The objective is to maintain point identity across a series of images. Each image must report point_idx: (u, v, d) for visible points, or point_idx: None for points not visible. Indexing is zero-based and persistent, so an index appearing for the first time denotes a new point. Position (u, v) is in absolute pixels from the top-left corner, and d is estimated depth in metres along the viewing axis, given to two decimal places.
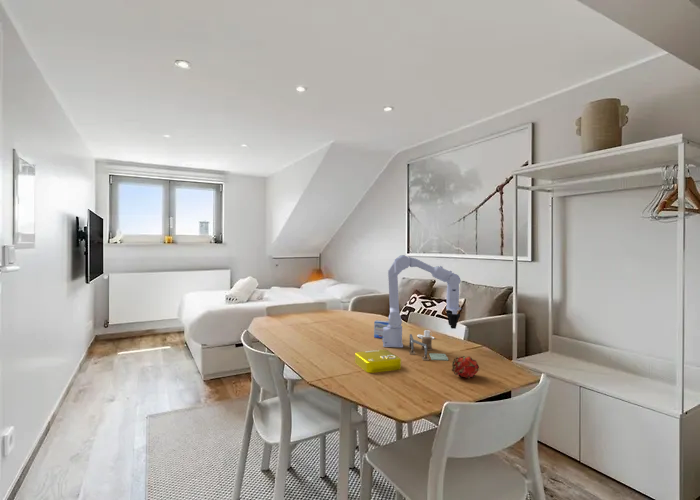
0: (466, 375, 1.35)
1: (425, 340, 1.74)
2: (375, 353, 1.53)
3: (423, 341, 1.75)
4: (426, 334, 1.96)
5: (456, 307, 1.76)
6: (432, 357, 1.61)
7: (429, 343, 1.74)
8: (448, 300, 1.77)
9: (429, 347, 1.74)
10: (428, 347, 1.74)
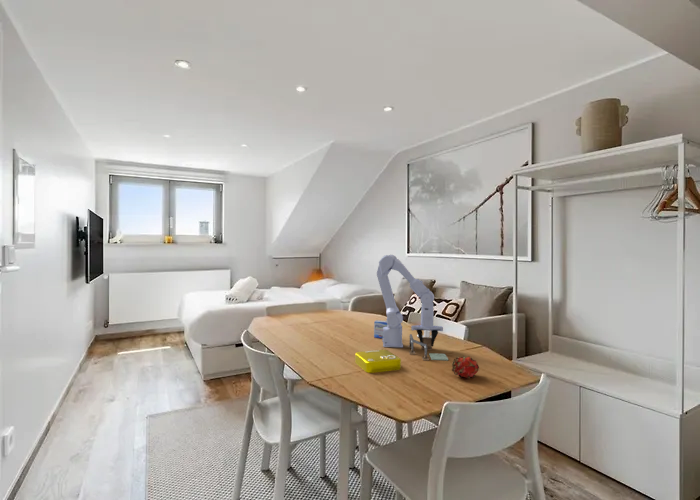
0: (466, 375, 1.35)
1: (425, 340, 1.74)
2: (375, 353, 1.53)
3: (423, 341, 1.75)
4: (426, 334, 1.96)
5: (422, 325, 1.74)
6: (432, 357, 1.61)
7: (429, 343, 1.74)
8: None
9: (429, 347, 1.74)
10: (428, 347, 1.74)
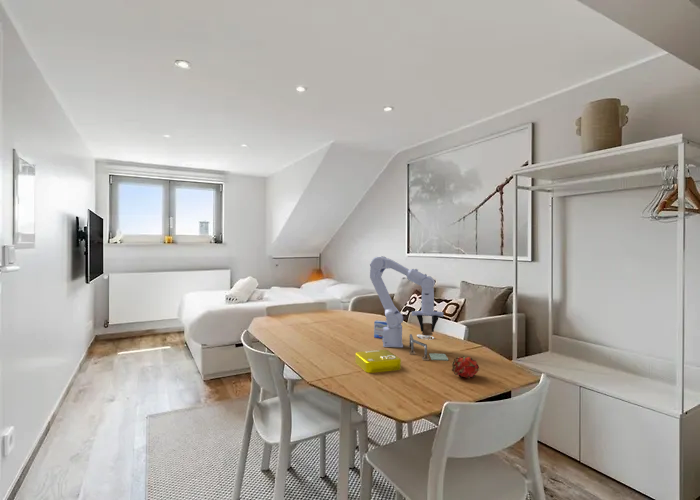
0: (466, 375, 1.35)
1: (425, 325, 1.73)
2: (375, 353, 1.53)
3: (423, 326, 1.74)
4: None
5: (422, 311, 1.74)
6: (432, 357, 1.61)
7: (429, 328, 1.73)
8: None
9: (429, 332, 1.73)
10: (428, 332, 1.73)
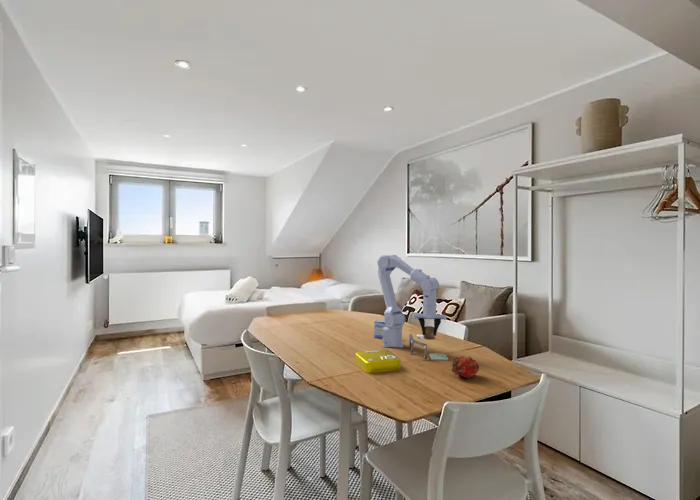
0: (466, 375, 1.35)
1: (427, 329, 1.66)
2: (375, 353, 1.53)
3: (425, 330, 1.67)
4: None
5: (424, 314, 1.66)
6: (432, 357, 1.61)
7: (432, 332, 1.66)
8: None
9: (432, 336, 1.66)
10: (431, 336, 1.66)
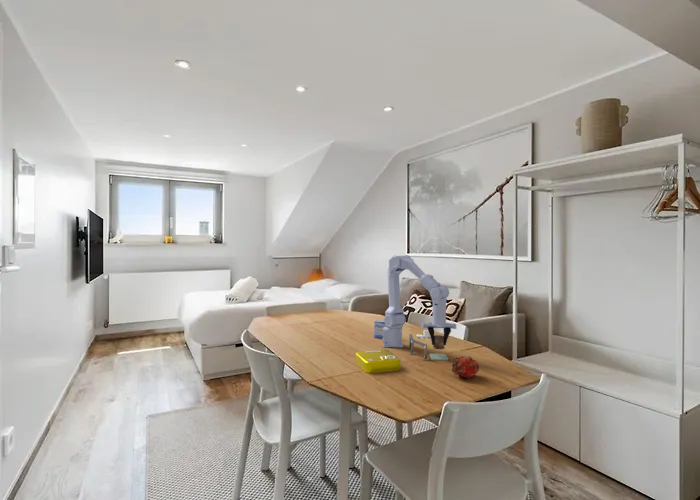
0: (466, 375, 1.35)
1: (437, 338, 1.60)
2: (375, 353, 1.53)
3: (435, 339, 1.61)
4: (425, 334, 1.96)
5: (433, 323, 1.61)
6: (432, 357, 1.61)
7: (441, 341, 1.60)
8: None
9: (441, 346, 1.60)
10: (440, 346, 1.60)
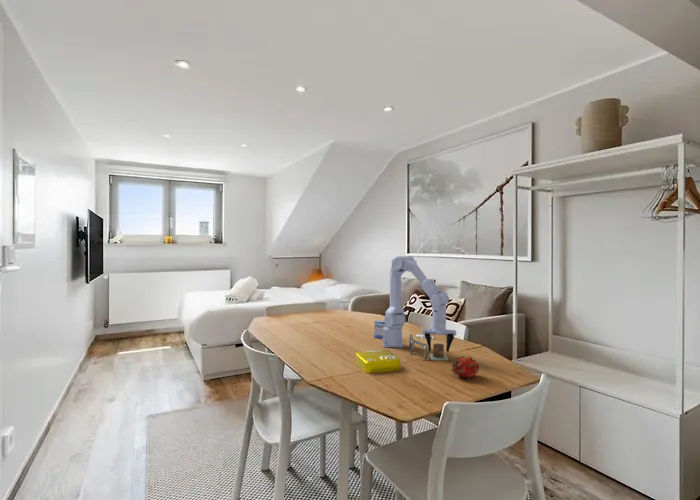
0: (466, 375, 1.35)
1: (437, 347, 1.61)
2: (376, 353, 1.53)
3: (435, 348, 1.61)
4: None
5: (433, 329, 1.61)
6: (432, 357, 1.61)
7: (441, 350, 1.60)
8: None
9: (441, 354, 1.61)
10: (440, 354, 1.60)
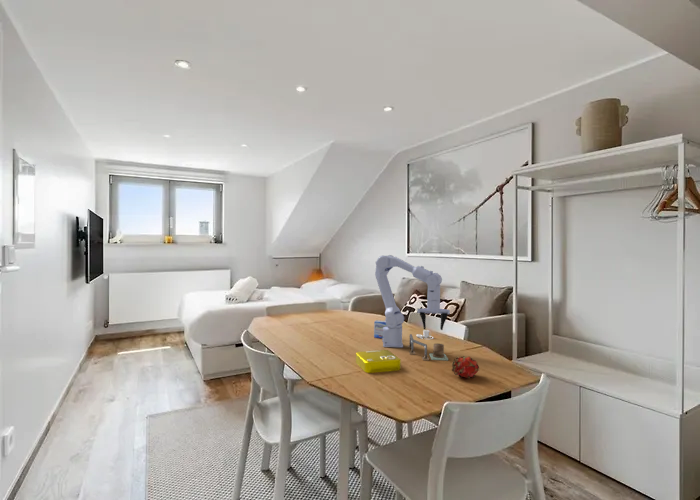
0: (466, 375, 1.35)
1: (437, 347, 1.61)
2: (376, 353, 1.53)
3: (435, 348, 1.61)
4: (425, 334, 1.96)
5: (428, 308, 1.70)
6: (432, 357, 1.61)
7: (441, 350, 1.60)
8: None
9: (441, 354, 1.61)
10: (440, 354, 1.60)
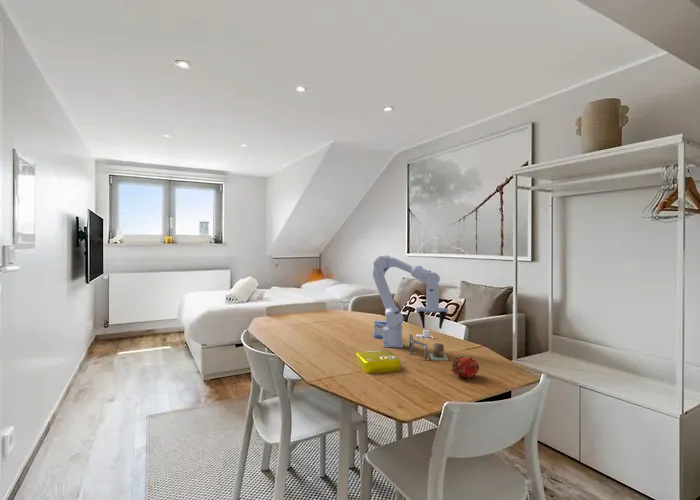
0: (466, 375, 1.35)
1: (437, 347, 1.61)
2: (376, 353, 1.53)
3: (435, 348, 1.61)
4: (425, 334, 1.96)
5: (427, 307, 1.72)
6: (432, 357, 1.61)
7: (441, 350, 1.60)
8: None
9: (441, 354, 1.61)
10: (440, 354, 1.60)
